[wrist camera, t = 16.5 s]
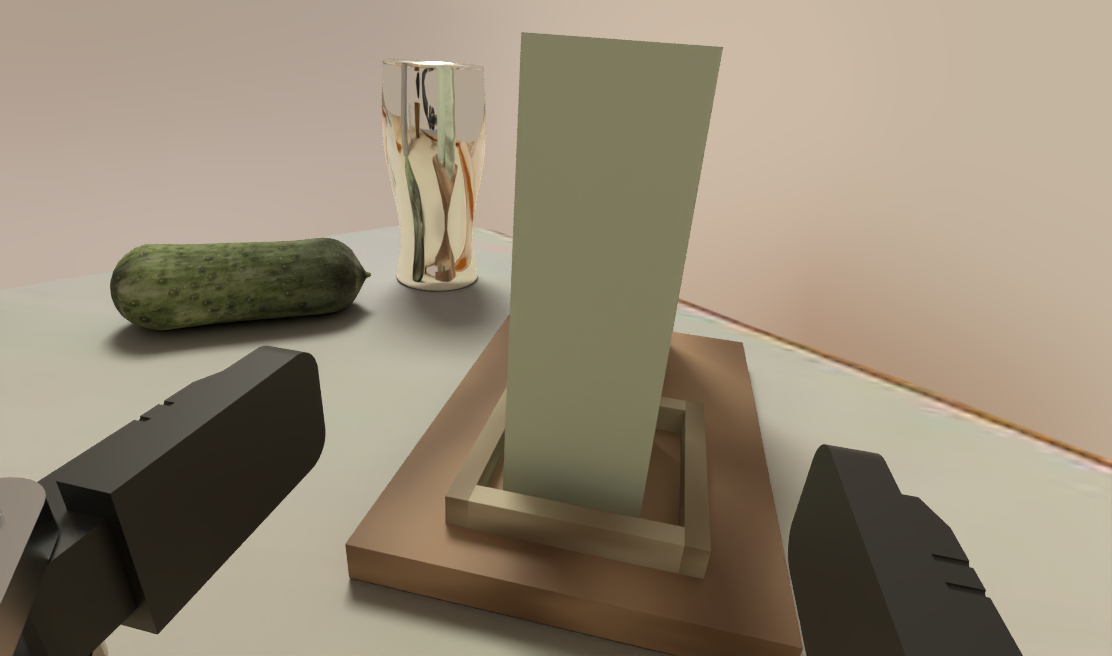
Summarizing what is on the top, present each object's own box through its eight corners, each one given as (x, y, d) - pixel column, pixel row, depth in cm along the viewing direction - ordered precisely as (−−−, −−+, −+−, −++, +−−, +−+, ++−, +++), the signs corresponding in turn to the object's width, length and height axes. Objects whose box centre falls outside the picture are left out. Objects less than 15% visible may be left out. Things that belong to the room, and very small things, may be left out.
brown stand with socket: (349, 577, 19) (283, 9, 12) (513, 329, 37) (525, 42, 30) (789, 682, 17) (1029, 63, 10) (737, 364, 35) (808, 64, 28)
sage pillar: (502, 492, 21) (521, 32, 15) (537, 417, 25) (563, 39, 19) (638, 521, 20) (723, 46, 14) (650, 439, 25) (717, 51, 18)
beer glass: (471, 298, 41) (473, 67, 34) (376, 288, 41) (360, 58, 35) (491, 266, 47) (496, 66, 41) (408, 257, 48) (400, 58, 41)
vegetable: (112, 351, 31) (87, 264, 29) (131, 313, 35) (110, 234, 33) (378, 323, 37) (373, 247, 35) (367, 293, 41) (362, 224, 39)
